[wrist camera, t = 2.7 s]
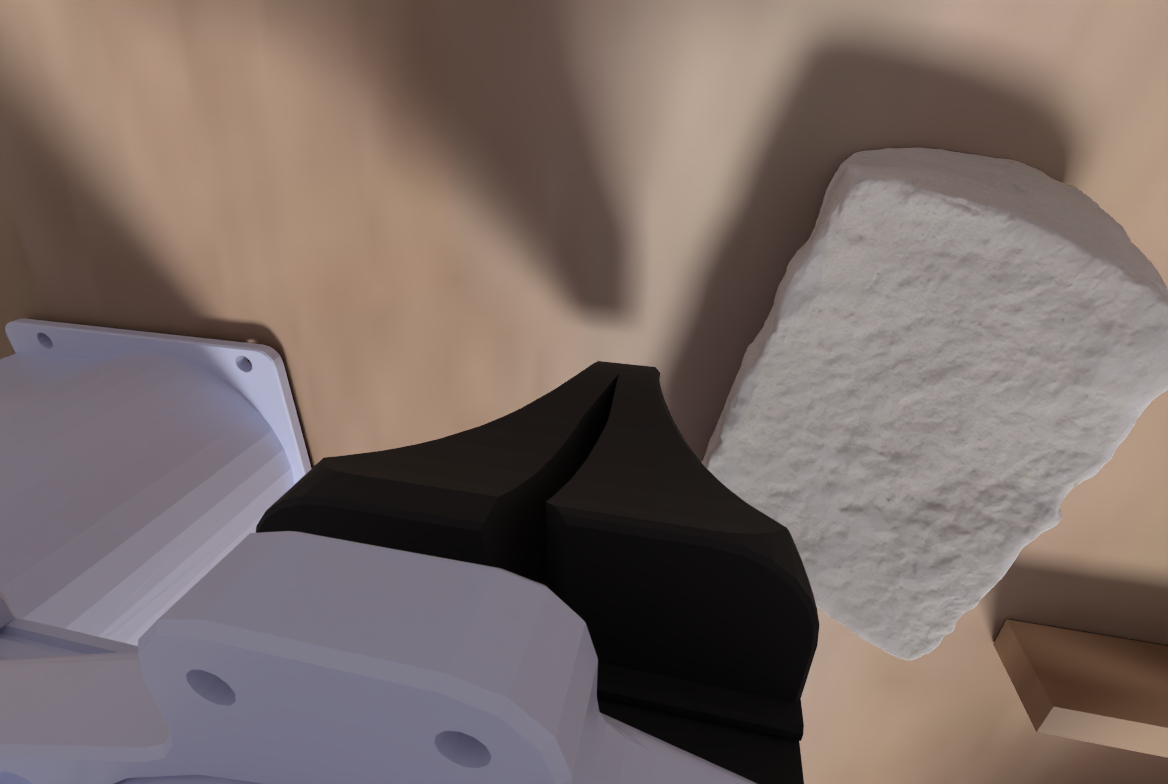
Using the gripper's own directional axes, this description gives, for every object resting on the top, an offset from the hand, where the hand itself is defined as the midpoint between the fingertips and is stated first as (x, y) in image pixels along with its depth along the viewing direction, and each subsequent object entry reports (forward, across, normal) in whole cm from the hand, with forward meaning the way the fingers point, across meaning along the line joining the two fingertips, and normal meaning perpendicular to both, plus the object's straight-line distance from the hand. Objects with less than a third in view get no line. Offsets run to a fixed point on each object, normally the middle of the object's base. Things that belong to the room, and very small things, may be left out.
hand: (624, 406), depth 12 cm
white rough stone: (+3, -5, 0) cm, 6 cm away
